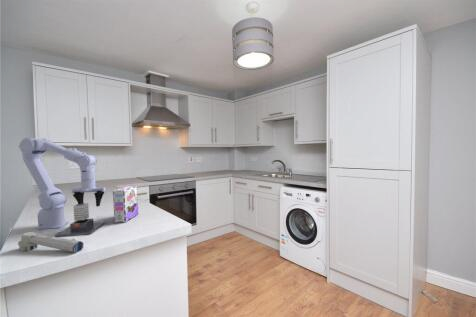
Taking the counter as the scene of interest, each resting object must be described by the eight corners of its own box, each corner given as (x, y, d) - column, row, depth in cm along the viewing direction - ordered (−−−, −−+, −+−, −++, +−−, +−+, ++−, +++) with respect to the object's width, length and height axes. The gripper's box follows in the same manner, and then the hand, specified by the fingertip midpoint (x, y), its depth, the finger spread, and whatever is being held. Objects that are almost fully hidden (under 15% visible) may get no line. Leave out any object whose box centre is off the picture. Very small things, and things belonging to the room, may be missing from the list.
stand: (55, 237, 92) (54, 227, 92) (75, 225, 106) (74, 217, 105) (90, 234, 94) (90, 225, 94) (105, 223, 108) (105, 215, 107)
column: (74, 220, 97) (73, 205, 97) (79, 217, 101) (78, 203, 101) (84, 220, 98) (83, 205, 97) (89, 217, 102) (88, 203, 101)
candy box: (125, 222, 108) (123, 190, 107) (114, 223, 108) (112, 190, 107) (138, 214, 121) (137, 185, 121) (128, 214, 122) (127, 185, 121)
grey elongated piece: (72, 244, 75) (14, 232, 79) (71, 263, 75) (13, 249, 79) (85, 238, 80) (30, 227, 84) (84, 255, 80) (29, 243, 84)
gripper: (66, 181, 101) (68, 209, 102) (100, 179, 103) (101, 207, 104) (76, 179, 108) (77, 205, 109) (106, 177, 110) (108, 204, 111)
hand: (89, 206), depth 107 cm, fingers open, 7 cm apart
